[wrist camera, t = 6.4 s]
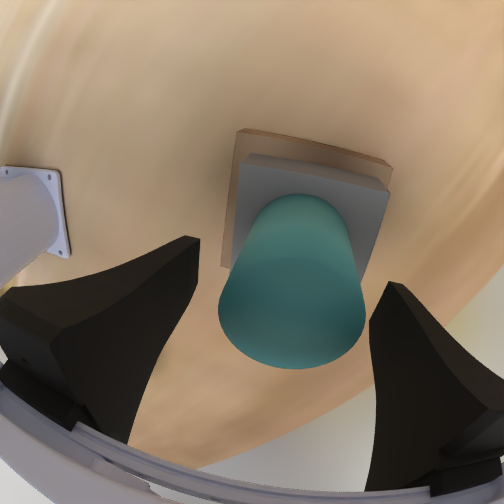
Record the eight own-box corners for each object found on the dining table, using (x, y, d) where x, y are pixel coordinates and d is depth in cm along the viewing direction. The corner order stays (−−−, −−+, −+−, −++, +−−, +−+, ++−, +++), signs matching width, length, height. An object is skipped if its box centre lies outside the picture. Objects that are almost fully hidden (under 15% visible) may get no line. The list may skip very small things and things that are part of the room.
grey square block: (238, 262, 17) (228, 287, 15) (250, 152, 14) (240, 163, 12) (346, 282, 17) (349, 310, 15) (377, 178, 13) (390, 193, 11)
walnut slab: (230, 246, 20) (220, 266, 18) (246, 127, 16) (236, 131, 14) (345, 272, 19) (348, 294, 17) (381, 158, 15) (393, 168, 13)
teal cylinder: (245, 270, 14) (214, 353, 10) (258, 184, 12) (224, 241, 7) (332, 288, 14) (337, 377, 9) (359, 206, 12) (388, 275, 7)
